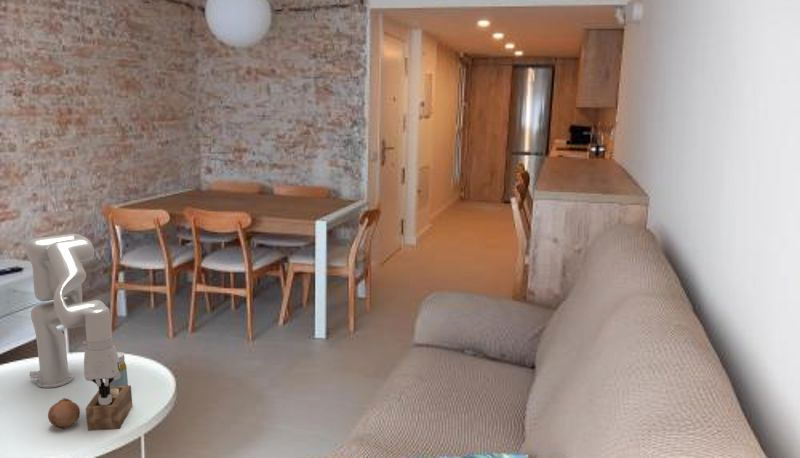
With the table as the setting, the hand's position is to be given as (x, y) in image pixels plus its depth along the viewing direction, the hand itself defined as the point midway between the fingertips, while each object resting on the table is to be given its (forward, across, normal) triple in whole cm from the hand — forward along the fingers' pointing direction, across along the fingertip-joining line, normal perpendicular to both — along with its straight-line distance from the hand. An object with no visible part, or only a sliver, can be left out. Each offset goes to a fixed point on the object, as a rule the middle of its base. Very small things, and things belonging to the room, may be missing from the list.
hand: (105, 395), depth 215 cm
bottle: (+10, -3, +24) cm, 26 cm away
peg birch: (+10, 0, +8) cm, 13 cm away
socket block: (+10, 0, +4) cm, 11 cm away
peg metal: (+8, 0, 0) cm, 8 cm away
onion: (+10, -14, +1) cm, 17 cm away
